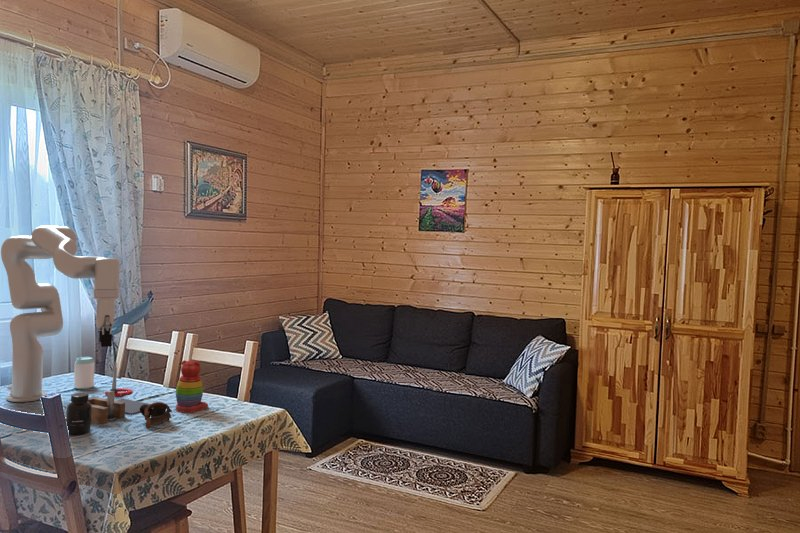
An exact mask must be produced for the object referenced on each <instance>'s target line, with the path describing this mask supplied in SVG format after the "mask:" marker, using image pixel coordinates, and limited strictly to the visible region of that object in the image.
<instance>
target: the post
mask: <svg viewBox="0 0 800 533" xmlns="http://www.w3.org/2000/svg"><path fill="white" fill-rule="evenodd" d="M115 397H116V396H115V391H109V390H107V395H106V399H107V407H108V422H114V421H116V420H117V419H118V418H117V417H115V416H114V401H115Z"/></svg>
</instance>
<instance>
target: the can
mask: <svg viewBox="0 0 800 533" xmlns="http://www.w3.org/2000/svg"><path fill="white" fill-rule="evenodd" d="M73 368H74V371H73V374H74V377H73V378H74V379H73V388H75V389H76V390H89V389H91V388H93V387H94V386H95V360H94V358H93V357H92V356H80V357H76V360H75V361H74V367H73Z"/></svg>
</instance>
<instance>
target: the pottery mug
mask: <svg viewBox="0 0 800 533" xmlns="http://www.w3.org/2000/svg"><path fill="white" fill-rule="evenodd" d="M149 404H150V405H147V404H143V405H142V406H141V407H140V412H139V413H141V415H142V416H143V417H144V420H145V423H144V424H145V427H147V429H149V428H150V427H151V426H152V427H153V426H156V425H159V424H160V425H161V424H163V423H164V422H166V421H167V422H168V421H170V419H172V415H171V413H172V412H173V410H172V409H171V408H170V406H169V405H168V404H167V403H165V402H162V401H155V402H152V403H149ZM153 407H154V408H153Z"/></svg>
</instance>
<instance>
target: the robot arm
mask: <svg viewBox="0 0 800 533" xmlns="http://www.w3.org/2000/svg"><path fill="white" fill-rule="evenodd" d="M77 251H78V244H77V234H76V233H75V231H74V230H73V229H72V228H71V227H68V226H63V225H62V226H59V225H39V226H38V227H35V229H33V230H32V232H31V234H30V235H16V236H11V237H8V238H6V239H5V240H4V241H3V243H2V245H1V247H0V259H1V261H2V264H3V266H4V269H5V272H6V275H7V283H8V289H9V296H10V300H11V305H12V306H13V308H14V309H15V310H16V309H17V310H20V311H21V310H22V311H23V310H38V309H40V311H36V312H35V311H34V312H25V313H20V314H17V315H15V316H14V317H13V318H12V319H11V320H10V323H9V332H10V336H11V341H12V342H11V344H12V345H11V346H12V366H11V367H12V373H11V385H10V386H8V387H7V390H8V391H10V394H7V396H6V400H7V401H9V402H13V403H26V402H34V401H39V400H40V401H41V399H40V397H42V396H46V395H47V394H48V393H47V392H46V391H43V372H44V371H43V367H44V366H43V364H44V363H43V362H44V361H43V360H44V350H43V347H42V345H41V342H39V341H38V339H39V338H45V337H51V336H52V337H53V336H56V335H58V334H60V333H61V332H62V330H63V326H64V318H63V313H62V312H63V311H62V306H61V305H62V304H61V299H60V293H59V292H58V291H59V290H58V289H57V288H56V286H55V285H53V284H51V283H45V282H44V283H37V281H36V275H35V270H34V269H33V267H32V266H31V265H30V264H29V263H28V262H27V261H26V260H48V259H49V260H50V259H52V261H53V262H52V263H53V265H54V268H55V269H56V270H58V271H59V272H60V273H62V274H63V275H65V276H66V277H68V278H72V279H75V280H77V279H79V280H80V279H94V280H93V283H94V285H93V286H94V287H93V299H94V300H96V317H95V318H96V321H95V327H96V328H97V329H99V333H98V334H99V336H98V339H99V343H100V347H102V348H104V347H105V348H108V347H112V346H113V334H112V328H114V323H115V306H116V305H115V300H117V299H120V298H119V296H120V295H119V294H120V293H119V292H120V284H119V283H120V260H119V259H117V258H113V257H103V256H96V255H95V256H89V255H88V256H87V255H86V256H83V255H82V256H81V255H80V256H79V255H76V254H77ZM75 255H76V256H75ZM47 396H48V395H47ZM47 396H46V397H47Z"/></svg>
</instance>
